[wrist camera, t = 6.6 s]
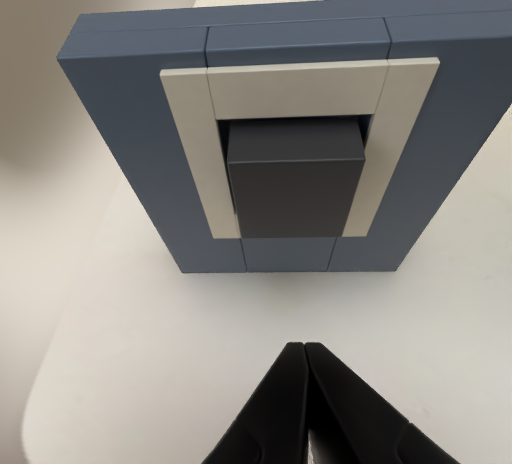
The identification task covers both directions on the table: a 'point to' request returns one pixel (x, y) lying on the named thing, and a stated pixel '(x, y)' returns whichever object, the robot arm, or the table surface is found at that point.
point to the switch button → (294, 176)
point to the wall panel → (294, 112)
